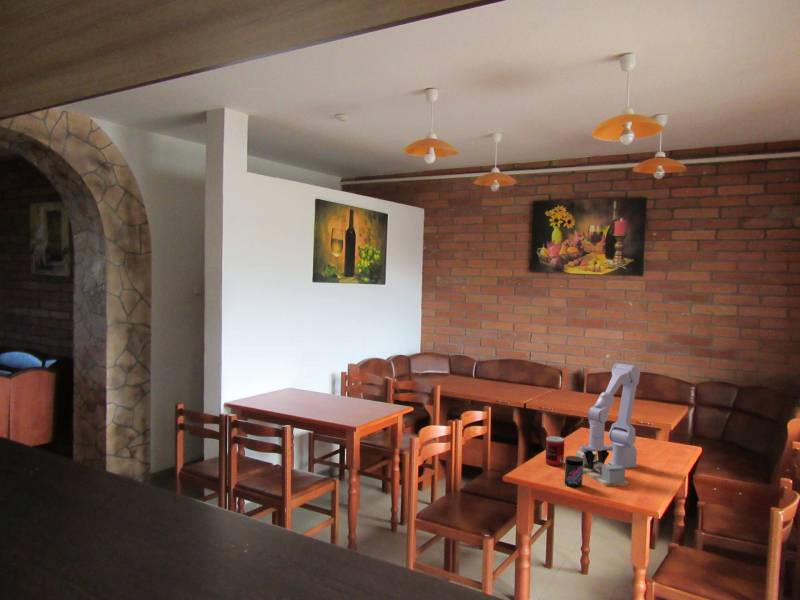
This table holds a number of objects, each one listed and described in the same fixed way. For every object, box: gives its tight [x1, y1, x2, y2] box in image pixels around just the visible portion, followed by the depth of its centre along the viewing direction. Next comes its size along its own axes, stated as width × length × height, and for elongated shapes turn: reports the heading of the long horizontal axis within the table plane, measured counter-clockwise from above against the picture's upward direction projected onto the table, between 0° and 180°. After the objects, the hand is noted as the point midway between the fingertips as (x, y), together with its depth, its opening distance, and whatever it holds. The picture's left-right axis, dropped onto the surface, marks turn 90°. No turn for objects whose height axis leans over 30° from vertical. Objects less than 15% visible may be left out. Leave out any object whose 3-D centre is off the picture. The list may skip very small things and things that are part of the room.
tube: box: [584, 456, 606, 474], centre depth 241 cm, size 19×4×4 cm, turn 14°
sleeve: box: [575, 450, 598, 467], centre depth 246 cm, size 5×7×5 cm
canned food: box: [545, 435, 565, 467], centre depth 249 cm, size 8×8×11 cm
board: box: [583, 464, 630, 487], centre depth 237 cm, size 27×10×1 cm, turn 14°
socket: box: [602, 464, 626, 483], centre depth 227 cm, size 5×7×5 cm
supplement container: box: [564, 455, 584, 489], centre depth 224 cm, size 7×7×10 cm
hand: (595, 468), depth 239 cm, fingers closed on tube, 4 cm apart
